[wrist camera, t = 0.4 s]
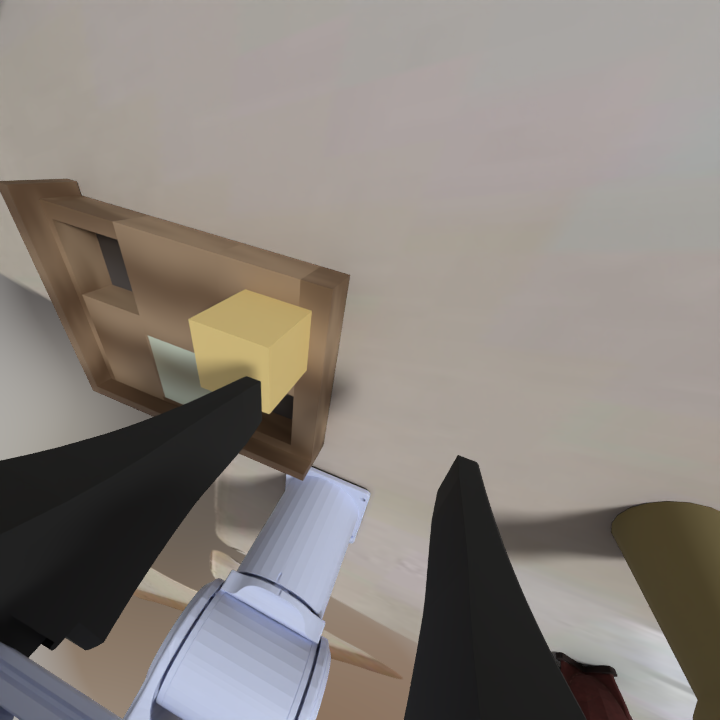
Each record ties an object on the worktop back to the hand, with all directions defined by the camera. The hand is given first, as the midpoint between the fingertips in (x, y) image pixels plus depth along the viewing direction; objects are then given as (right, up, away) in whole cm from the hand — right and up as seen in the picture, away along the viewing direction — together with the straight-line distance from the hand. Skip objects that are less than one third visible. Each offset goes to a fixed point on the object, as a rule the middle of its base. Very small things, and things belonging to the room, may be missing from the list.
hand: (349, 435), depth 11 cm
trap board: (-10, +5, +12) cm, 16 cm away
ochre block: (-4, +4, +7) cm, 9 cm away
